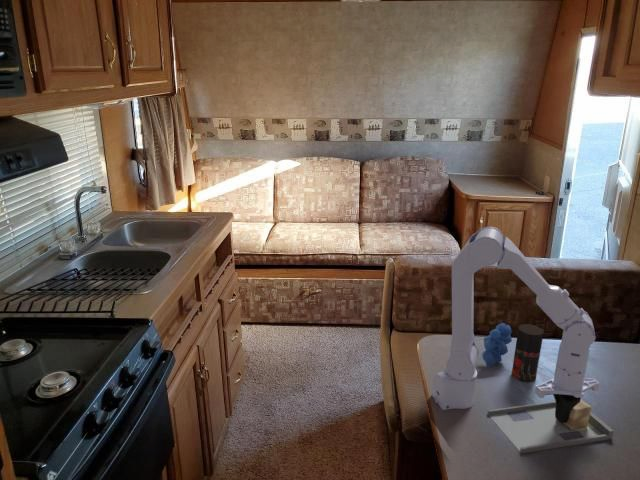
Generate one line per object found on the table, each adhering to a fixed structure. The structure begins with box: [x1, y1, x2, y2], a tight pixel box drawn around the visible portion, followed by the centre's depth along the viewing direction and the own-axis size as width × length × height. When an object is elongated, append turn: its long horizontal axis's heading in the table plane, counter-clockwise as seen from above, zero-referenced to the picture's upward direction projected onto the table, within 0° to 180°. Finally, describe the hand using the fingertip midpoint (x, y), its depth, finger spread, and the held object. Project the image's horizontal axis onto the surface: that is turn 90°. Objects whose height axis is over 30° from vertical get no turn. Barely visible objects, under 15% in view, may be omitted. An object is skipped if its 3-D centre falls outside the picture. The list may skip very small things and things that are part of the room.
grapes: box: [481, 322, 513, 367], centre depth 135 cm, size 12×7×12 cm, turn 128°
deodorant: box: [511, 323, 545, 383], centre depth 126 cm, size 6×6×15 cm
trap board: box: [487, 400, 615, 454], centre depth 108 cm, size 22×13×4 cm, turn 103°
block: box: [563, 399, 592, 430], centre depth 109 cm, size 4×4×5 cm
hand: (561, 419), depth 109 cm, fingers closed, pressing on block
